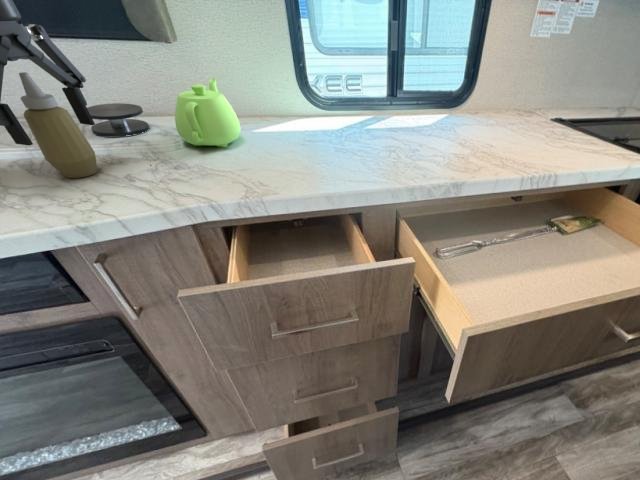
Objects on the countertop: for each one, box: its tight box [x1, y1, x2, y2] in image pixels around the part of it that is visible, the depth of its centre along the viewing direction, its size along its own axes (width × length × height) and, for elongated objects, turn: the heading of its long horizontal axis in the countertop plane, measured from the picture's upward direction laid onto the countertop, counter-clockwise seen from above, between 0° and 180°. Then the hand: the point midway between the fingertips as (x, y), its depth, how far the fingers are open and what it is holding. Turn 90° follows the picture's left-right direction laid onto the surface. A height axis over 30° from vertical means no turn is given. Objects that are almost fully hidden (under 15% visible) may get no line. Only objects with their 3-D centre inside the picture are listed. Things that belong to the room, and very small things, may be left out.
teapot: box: [174, 77, 242, 148], centre depth 87 cm, size 22×15×13 cm
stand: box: [87, 102, 150, 137], centre depth 90 cm, size 13×13×5 cm
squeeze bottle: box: [18, 72, 98, 179], centre depth 65 cm, size 8×8×18 cm
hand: (58, 133), depth 66 cm, fingers open, 13 cm apart
